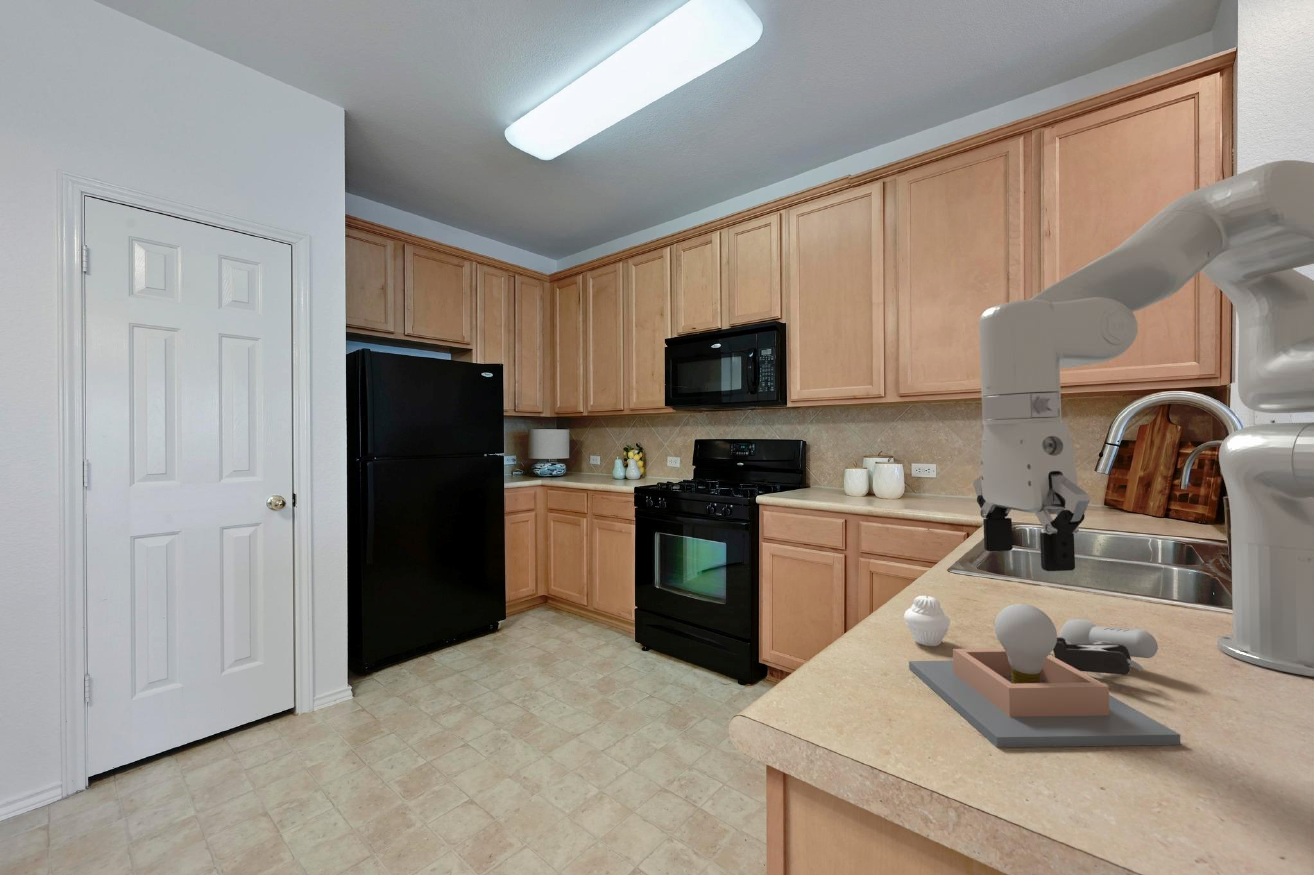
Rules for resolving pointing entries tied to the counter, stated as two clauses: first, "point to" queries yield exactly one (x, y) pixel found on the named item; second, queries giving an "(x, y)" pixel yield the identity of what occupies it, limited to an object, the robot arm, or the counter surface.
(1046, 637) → the light bulb
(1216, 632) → the counter surface
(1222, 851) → the counter surface
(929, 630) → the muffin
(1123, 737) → the holder board
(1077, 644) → the clip-on lamp
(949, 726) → the counter surface
